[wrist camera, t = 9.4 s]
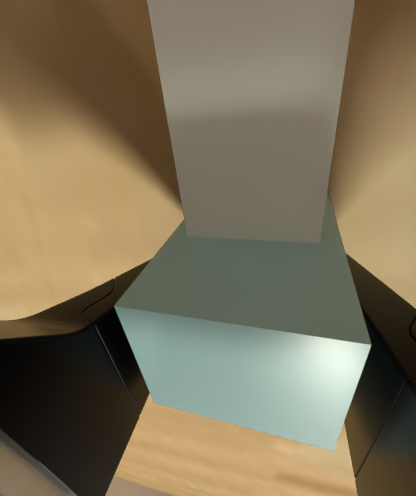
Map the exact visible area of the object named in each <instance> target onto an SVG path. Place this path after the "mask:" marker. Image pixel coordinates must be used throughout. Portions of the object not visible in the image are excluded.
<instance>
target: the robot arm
mask: <svg viewBox="0 0 416 496" xmlns="http://www.w3.org/2000/svg"><path fill="white" fill-rule="evenodd" d="M346 257H347V260H348V264H349V267H350V271H351V274H352V278H353V281H354V285H355V289H356V292H357V296H358V299H359V303H360V306H361V310H362V313H363V317H364V320H365V324H366V327H367V331H368V334H369V338H370V341H371V348H370V351H369V353H368V356H367V359H366V362H365V365H364V367H363V370H362V373H361V376H360V379H359V381H358V384H357V387H356V390H355V393H354V395H353V398H352V401H351V404H350V407H349V409H348V412H347V415H346V418H345V420H344V423H345V428H346V433H347V439H348V444H349V450H350V455H351V460H352V466H353V471H354V476H355V478H356V479H355V483H356V488H357V493H358V496H416V308H414V307H413V306H412V305H410V304H409V303H408V302H407V301H405V300H404V299H403V298H402V297H400V296H399V295H398V294H397V293H395V292H394V291H393V290H392V289H390V288H389V287H388V286H387V285H385V284H384V283H383V282H382V281H380V280H379V279H378V278H376V277H375V276H374V275H373V274H371V273H370V272H369V271H368V270H366V269H365V268H364V267H363V266H361V265H360V264H359V263H358V262H356V261H355V260H354V259H353V258H351V257H350V256H349V255H348V254H346ZM151 260H152V259H151ZM151 260H149V261H147V262H145V263H143V264H141V265H139V266H137V267H135V268H133V269H131V270H129V271H127V272H125V273H123V274H121V275H119V276H117V277H115V279H111V280H109V281H107V282H106V283H104V284H102V285H99V286H97V287H95V288H93V289H91V290H89V291H87V292H85V293H83V294H80V295H78V296H76V297H74V298H71V299H69V300H67V301H65V302H62V303H60V304H58V305H55V306H53V307H51V308H49V309H46V310H44V311H42V312H40V313H37V314H35V315H32V316H29V317H26V318H22V319H17V320H8V321H0V496H105V495H106V492H107V490H108V488H109V485H110V483H111V481H112V479H113V476H114V474H115V472H116V469H117V467H118V465H119V463H120V460H121V458H122V456H123V453H124V451H125V449H126V446H127V444H128V442H129V440H130V437H131V435H132V433H133V430H134V428H135V426H136V424H137V421H138V419H139V415H140V414H141V412H142V409H143V407H144V405H145V402H146V400H147V398H148V396H149V393H150V392H149V390H148V387H147V385H146V382H145V380H144V377H143V375H142V373H141V370H140V368H139V365H138V363H137V361H136V358H135V356H134V353H133V351H132V348H131V346H130V344H129V341H128V339H127V336H126V334H125V331H124V329H123V327H122V324H121V322H120V319H119V317H118V315H117V312H116V310H115V307H114V305H115V304H116V303H117V302H118V300H119V299H120V298H121V297H122V295H123V294H124V293H125V292H126V290H127V289H128V288H129V287H130V286H131V284H132V283H133V282H134V281H135V279H136V278H137V277H138V276H139V274H140V273H141V272H142V271H143V269H144V268H145V267H146V266H147V265H148V263H149V262H150V261H151Z"/></svg>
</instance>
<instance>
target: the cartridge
mask: <svg viewBox="0 0 416 496" xmlns="http://www.w3.org/2000/svg"><path fill="white" fill-rule="evenodd" d="M147 4H148V10H149V16H150V22H151V28H152V33H153V39H154V45H155V51H156V57H157V63H158V68H159V74H160V80H161V86H162V92H163V98H164V104H165V109H166V115H167V121H168V127H169V133H170V139H171V144H172V150H173V156H174V162H175V168H176V174H177V179H178V185H179V191H180V197H181V203H182V209H183V215H184V220H183V221H182V223H181V224H180V225H179V226H178V227H177V229H176V230H175V231H174V232H173V234H172V235H171V236H170V237H169V239H168V240H167V241H166V242H165V244H164V245H163V246H162V247H161V248H160V250H159V251H158V252H157V253H156V255H155V256H154V257H153V258H152V260H151V261H150V262H149V263H148V265H147V266H146V267H145V268H144V269H143V271H142V272H141V273H140V274H139V276H138V277H137V278H136V279H135V281H134V282H133V283H132V284H131V286H130V287H129V288H128V289H127V290H126V292H125V293H124V294H123V295H122V297H121V298H120V299H119V300H118V302H117V303H116V304H115V305H114V307H115V310H116V312H117V315H118V317H119V319H120V322H121V324H122V327H123V329H124V331H125V334H126V336H127V339H128V341H129V344H130V346H131V348H132V351H133V353H134V356H135V358H136V361H137V363H138V365H139V368H140V370H141V373H142V375H143V377H144V380H145V382H146V385H147V387H148V390H149V392H150V394H151V397H152V399H153V402H154V403H156V404H160V405H163V406H167V407H171V408H175V409H178V410H182V411H186V412H189V413H193V414H197V415H201V416H204V417H208V418H212V419H215V420H219V421H223V422H227V423H230V424H234V425H238V426H241V427H245V428H249V429H253V430H256V431H260V432H264V433H267V434H271V435H275V436H279V437H282V438H286V439H290V440H293V441H297V442H301V443H305V444H308V445H312V446H316V447H319V448H323V449H327V450H330V451H334V448H335V446H336V443H337V440H338V437H339V434H340V432H341V429H342V426H343V423H344V420H345V418H346V415H347V412H348V409H349V407H350V404H351V401H352V398H353V395H354V393H355V390H356V387H357V384H358V381H359V379H360V376H361V373H362V370H363V367H364V365H365V362H366V359H367V356H368V353H369V351H370V348H371V341H370V338H369V334H368V331H367V327H366V324H365V320H364V317H363V313H362V310H361V306H360V303H359V299H358V296H357V292H356V289H355V285H354V281H353V278H352V274H351V271H350V267H349V264H348V260H347V257H346V253H345V250H344V246H343V243H342V239H341V236H340V232H339V229H338V225H337V222H336V218H335V215H334V211H333V208H332V204H331V201H330V197H329V195H327V190H328V183H329V176H330V169H331V162H332V155H333V149H334V142H335V135H336V128H337V121H338V114H339V107H340V100H341V94H342V87H343V80H344V73H345V66H346V59H347V52H348V45H349V39H350V32H351V25H352V18H353V11H354V4H355V0H147Z"/></svg>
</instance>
